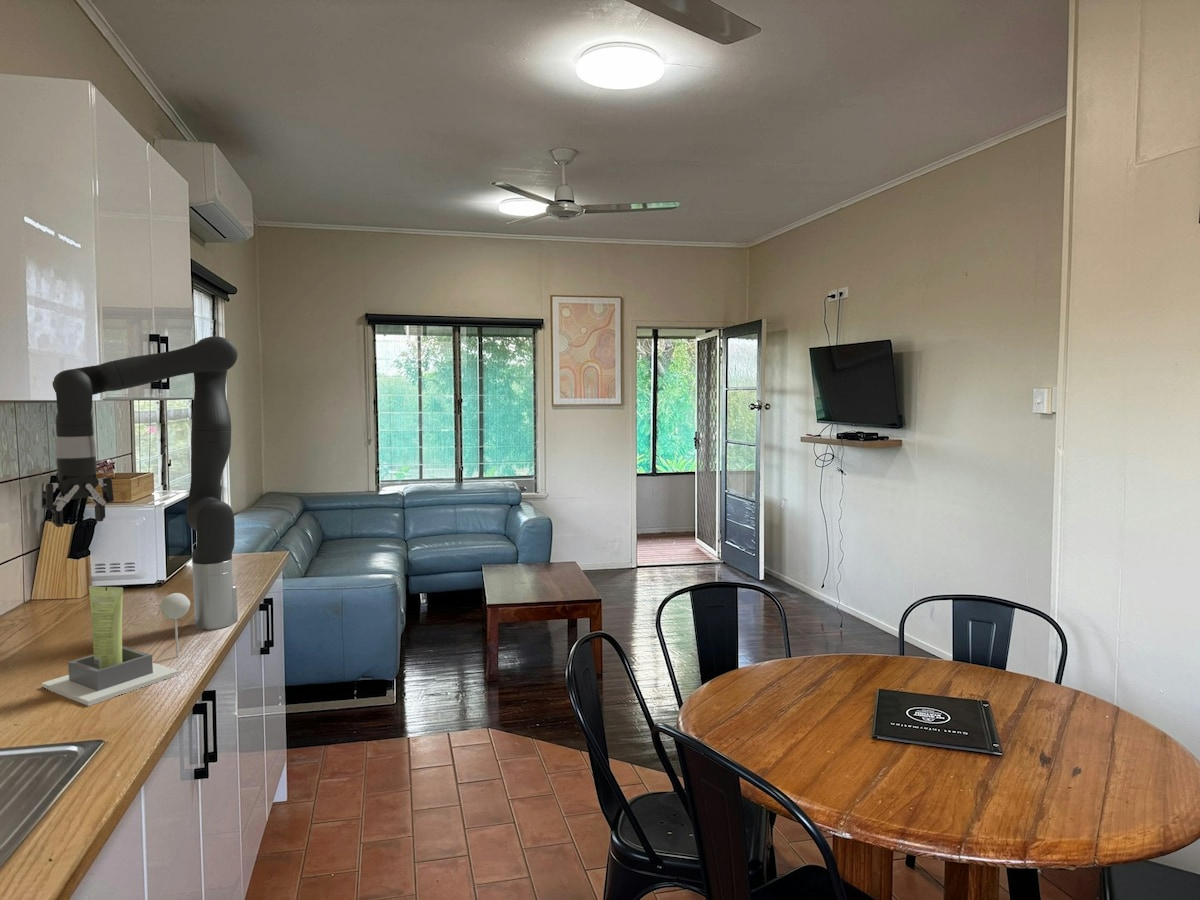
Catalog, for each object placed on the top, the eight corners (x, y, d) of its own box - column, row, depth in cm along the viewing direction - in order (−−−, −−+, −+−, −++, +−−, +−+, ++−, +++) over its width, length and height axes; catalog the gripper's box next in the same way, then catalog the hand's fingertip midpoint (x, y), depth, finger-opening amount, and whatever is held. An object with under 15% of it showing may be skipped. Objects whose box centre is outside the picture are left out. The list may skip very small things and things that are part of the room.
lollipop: (161, 663, 167) (158, 598, 166) (162, 654, 173) (159, 591, 171) (192, 658, 170) (189, 595, 169) (192, 650, 175) (190, 588, 174)
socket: (131, 659, 169) (130, 638, 169) (178, 675, 161) (177, 652, 160) (41, 687, 154) (40, 664, 153) (88, 706, 145) (87, 681, 144)
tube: (125, 669, 161) (120, 581, 159) (127, 677, 157) (123, 587, 155) (93, 675, 157) (88, 586, 156) (95, 683, 153) (90, 591, 152)
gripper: (50, 458, 165) (54, 530, 166) (117, 453, 177) (120, 520, 178) (33, 457, 168) (37, 527, 170) (100, 452, 181) (103, 517, 182)
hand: (80, 523), depth 174 cm, fingers open, 8 cm apart
